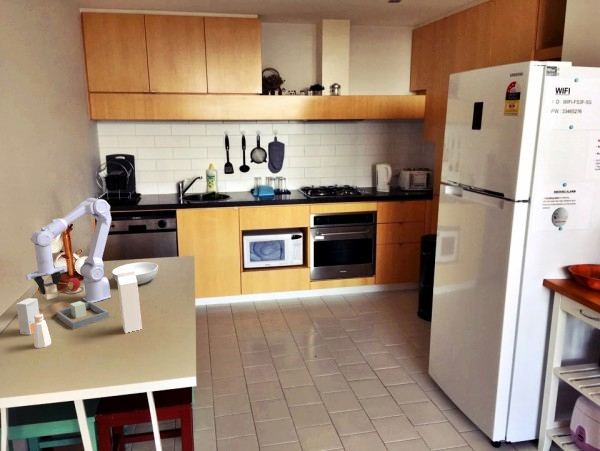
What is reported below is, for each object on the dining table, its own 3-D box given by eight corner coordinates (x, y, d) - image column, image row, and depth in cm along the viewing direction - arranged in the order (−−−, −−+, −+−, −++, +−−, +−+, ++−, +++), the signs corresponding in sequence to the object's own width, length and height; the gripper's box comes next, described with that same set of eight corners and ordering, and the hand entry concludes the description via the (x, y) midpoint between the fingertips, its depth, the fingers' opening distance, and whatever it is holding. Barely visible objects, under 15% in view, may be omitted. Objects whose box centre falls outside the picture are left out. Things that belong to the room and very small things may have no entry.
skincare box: (30, 335, 173) (25, 304, 170) (20, 334, 173) (15, 303, 171) (42, 328, 178) (37, 298, 176) (32, 327, 179) (27, 297, 177)
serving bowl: (141, 272, 242) (140, 259, 240) (168, 279, 229) (167, 266, 228) (104, 284, 225) (102, 270, 224) (131, 292, 213) (129, 278, 212)
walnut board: (64, 303, 202) (64, 300, 202) (76, 310, 194) (75, 308, 194) (29, 313, 192) (28, 310, 192) (39, 321, 184) (38, 318, 184)
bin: (91, 307, 198) (90, 301, 197) (108, 317, 186) (108, 311, 186) (56, 317, 188) (55, 311, 187) (73, 329, 177) (72, 322, 176)
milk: (142, 330, 175) (136, 273, 170) (125, 333, 172) (118, 276, 167) (138, 324, 180) (133, 268, 175) (122, 327, 177) (116, 271, 172)
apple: (85, 291, 216) (84, 277, 215) (66, 295, 212) (64, 281, 210) (82, 286, 223) (80, 273, 221) (63, 290, 218) (61, 277, 217)
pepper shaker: (39, 341, 168) (35, 312, 165) (54, 341, 168) (50, 311, 165) (30, 348, 162) (26, 318, 160) (46, 348, 162) (41, 318, 160)
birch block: (53, 294, 194) (52, 282, 193) (57, 296, 191) (56, 284, 190) (43, 296, 191) (41, 284, 190) (47, 299, 188) (45, 287, 187)
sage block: (81, 312, 192) (80, 300, 191) (86, 315, 189) (85, 303, 188) (71, 315, 190) (70, 303, 189) (76, 318, 187) (74, 306, 185)
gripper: (28, 266, 180) (33, 299, 183) (67, 257, 191) (72, 289, 194) (22, 262, 185) (27, 295, 188) (61, 254, 195) (65, 285, 198)
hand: (49, 292), depth 191 cm, fingers closed on birch block, 4 cm apart
